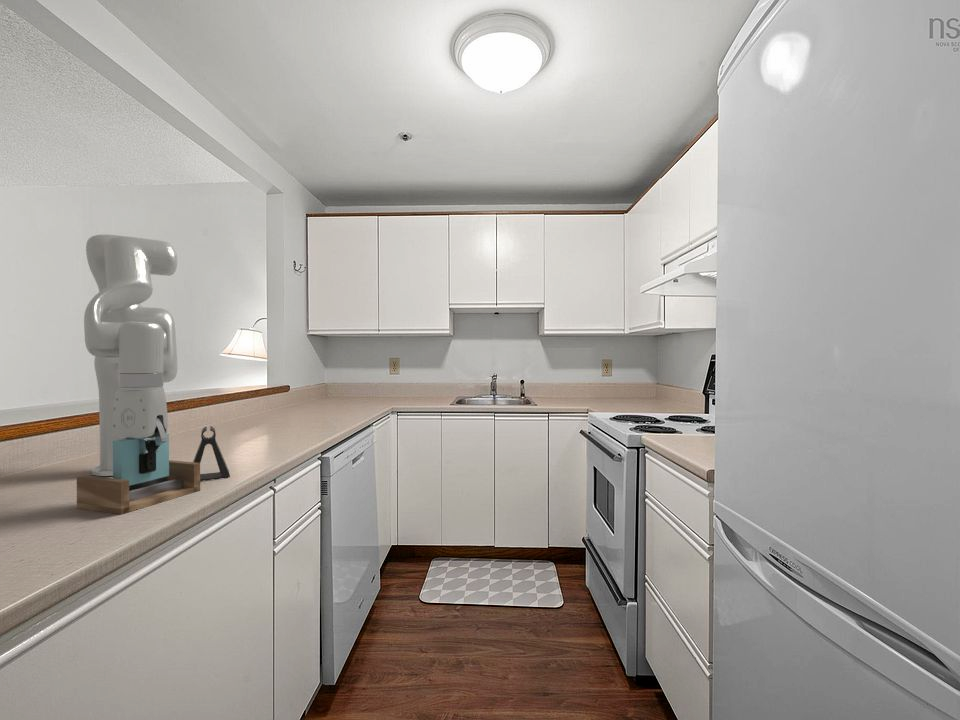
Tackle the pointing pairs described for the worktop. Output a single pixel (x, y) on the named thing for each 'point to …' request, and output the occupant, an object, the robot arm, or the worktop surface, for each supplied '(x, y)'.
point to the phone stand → (219, 458)
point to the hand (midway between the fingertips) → (142, 471)
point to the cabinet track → (137, 489)
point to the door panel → (129, 461)
